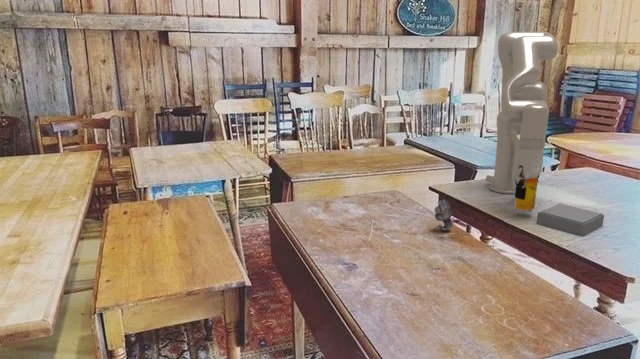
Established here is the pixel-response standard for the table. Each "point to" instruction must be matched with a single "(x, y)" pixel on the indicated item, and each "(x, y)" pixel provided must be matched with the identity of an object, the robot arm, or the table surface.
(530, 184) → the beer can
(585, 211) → the plinth
